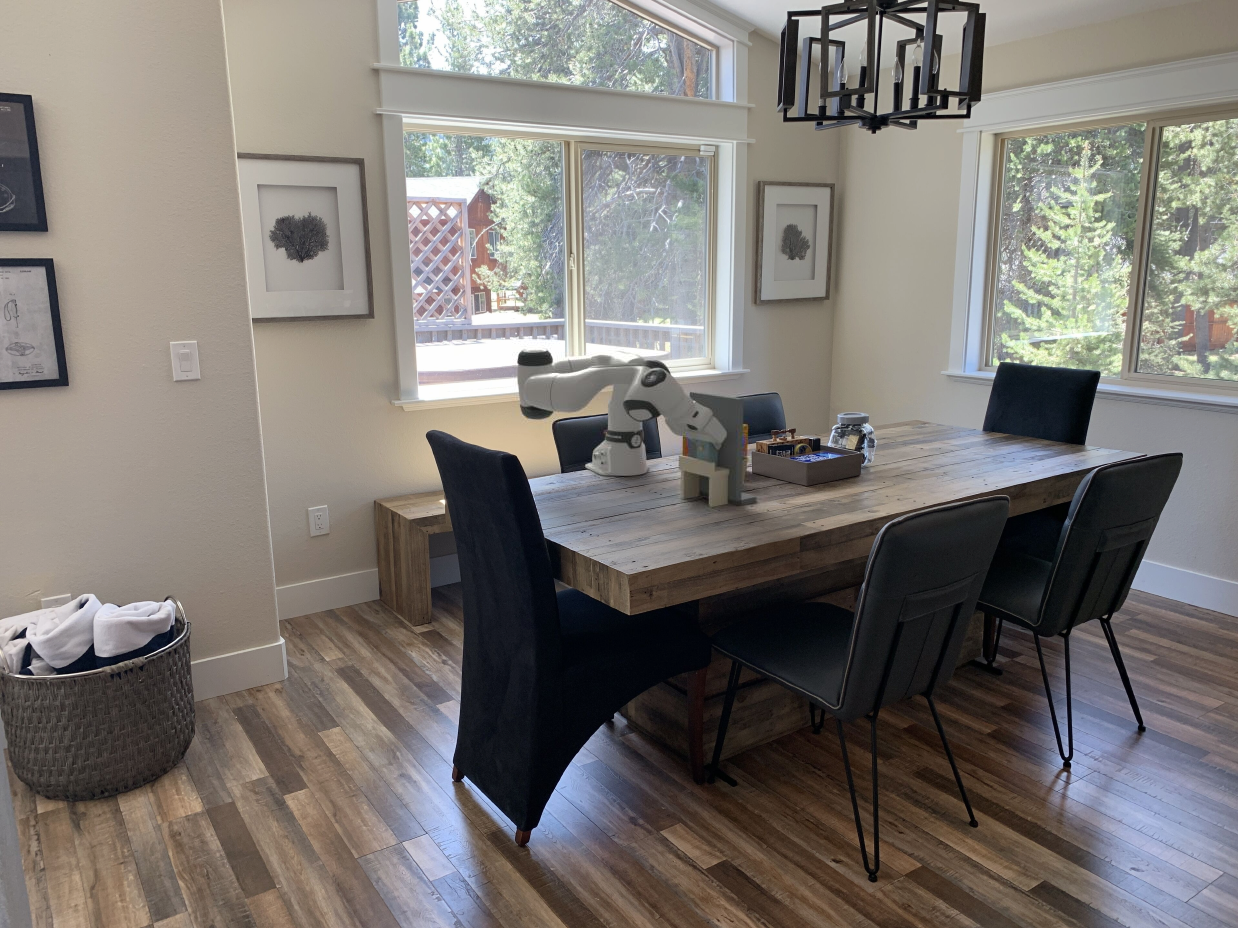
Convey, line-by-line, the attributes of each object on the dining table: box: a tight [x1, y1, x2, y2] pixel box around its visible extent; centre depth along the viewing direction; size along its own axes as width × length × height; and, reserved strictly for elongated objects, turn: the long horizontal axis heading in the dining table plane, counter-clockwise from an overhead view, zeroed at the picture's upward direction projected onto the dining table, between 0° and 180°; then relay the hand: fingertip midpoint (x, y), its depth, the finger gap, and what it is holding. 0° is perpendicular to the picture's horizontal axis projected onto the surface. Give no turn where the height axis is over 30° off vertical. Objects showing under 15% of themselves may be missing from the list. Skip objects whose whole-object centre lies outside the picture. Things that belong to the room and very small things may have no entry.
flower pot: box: [742, 456, 750, 487], centre depth 276 cm, size 9×9×9 cm
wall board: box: [678, 391, 758, 508], centre depth 258 cm, size 20×14×30 cm
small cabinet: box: [697, 440, 718, 467], centre depth 256 cm, size 5×4×8 cm
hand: (709, 445), depth 256 cm, fingers open, 6 cm apart
